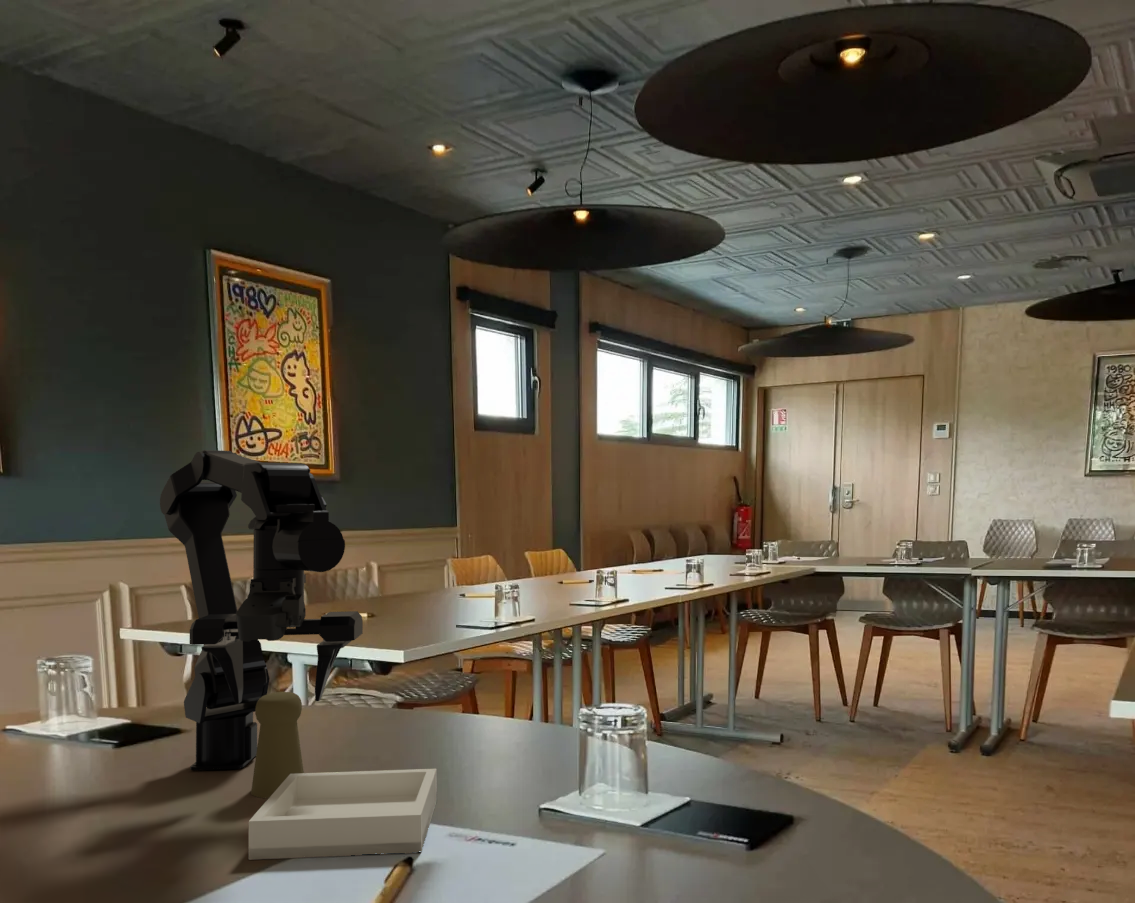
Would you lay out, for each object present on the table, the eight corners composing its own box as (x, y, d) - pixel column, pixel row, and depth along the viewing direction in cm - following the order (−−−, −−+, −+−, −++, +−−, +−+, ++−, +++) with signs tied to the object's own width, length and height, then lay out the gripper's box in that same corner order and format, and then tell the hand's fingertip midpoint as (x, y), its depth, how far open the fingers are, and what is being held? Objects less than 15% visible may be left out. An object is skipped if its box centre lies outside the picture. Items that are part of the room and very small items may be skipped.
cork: (288, 799, 95) (288, 700, 96) (240, 796, 96) (240, 698, 97) (315, 781, 101) (315, 688, 101) (269, 779, 102) (269, 687, 103)
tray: (248, 859, 79) (248, 821, 79) (290, 806, 93) (290, 773, 93) (421, 852, 79) (420, 814, 80) (436, 800, 93) (436, 768, 94)
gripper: (170, 575, 92) (168, 722, 91) (344, 572, 92) (344, 717, 92) (208, 567, 103) (207, 697, 102) (363, 564, 104) (363, 693, 103)
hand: (278, 701), depth 99 cm, fingers open, 9 cm apart
